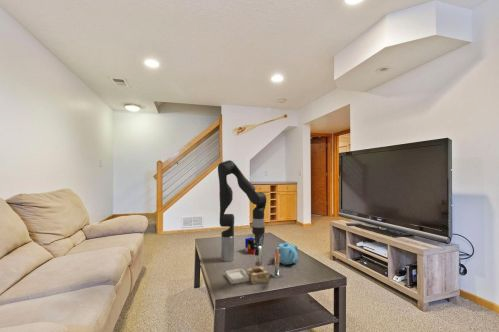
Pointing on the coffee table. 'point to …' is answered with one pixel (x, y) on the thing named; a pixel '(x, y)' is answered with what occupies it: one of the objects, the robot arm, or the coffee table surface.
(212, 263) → the coffee table surface
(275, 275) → the pivot post
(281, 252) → the decorative pot
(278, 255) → the bar
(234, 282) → the tray
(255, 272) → the block
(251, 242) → the puzzle toy
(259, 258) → the silver metal cylinder
